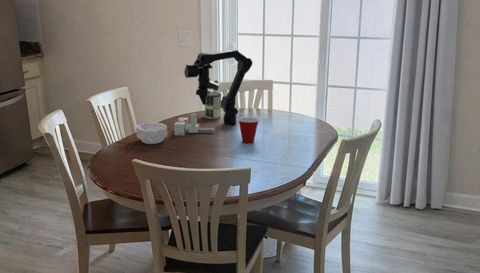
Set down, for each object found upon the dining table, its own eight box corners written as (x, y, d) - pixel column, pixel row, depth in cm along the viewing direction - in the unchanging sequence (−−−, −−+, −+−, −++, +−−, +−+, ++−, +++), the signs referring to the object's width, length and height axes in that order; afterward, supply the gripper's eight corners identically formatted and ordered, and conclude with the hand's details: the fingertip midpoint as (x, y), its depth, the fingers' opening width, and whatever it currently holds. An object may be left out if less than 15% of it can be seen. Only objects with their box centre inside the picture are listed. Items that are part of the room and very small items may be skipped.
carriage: (199, 130, 266) (199, 113, 263) (197, 132, 261) (197, 115, 258) (190, 129, 266) (189, 113, 263) (188, 132, 261) (188, 115, 259)
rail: (214, 131, 264) (214, 128, 264) (213, 133, 262) (213, 129, 261) (187, 131, 265) (187, 127, 265) (186, 132, 262) (186, 129, 262)
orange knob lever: (185, 128, 265) (185, 120, 264) (184, 130, 262) (184, 121, 261) (179, 128, 266) (178, 119, 264) (177, 130, 262) (177, 121, 261)
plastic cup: (259, 139, 253) (260, 116, 250) (258, 145, 243) (258, 121, 239) (238, 138, 254) (238, 115, 251) (236, 144, 244) (236, 121, 240)
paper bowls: (167, 145, 241) (167, 129, 238) (136, 146, 238) (135, 130, 236) (167, 136, 255) (166, 121, 253) (137, 137, 253) (136, 122, 250)
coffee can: (204, 118, 291) (204, 95, 287) (204, 114, 301) (203, 92, 297) (222, 118, 292) (222, 95, 288) (220, 114, 302) (220, 91, 298)
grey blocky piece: (188, 128, 271) (188, 117, 269) (184, 135, 257) (183, 124, 256) (179, 128, 271) (179, 117, 269) (174, 135, 258) (174, 124, 256)
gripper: (216, 80, 257) (216, 109, 262) (220, 74, 275) (220, 101, 280) (195, 79, 258) (195, 108, 263) (200, 73, 276) (201, 100, 280)
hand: (204, 104), depth 271 cm, fingers closed
